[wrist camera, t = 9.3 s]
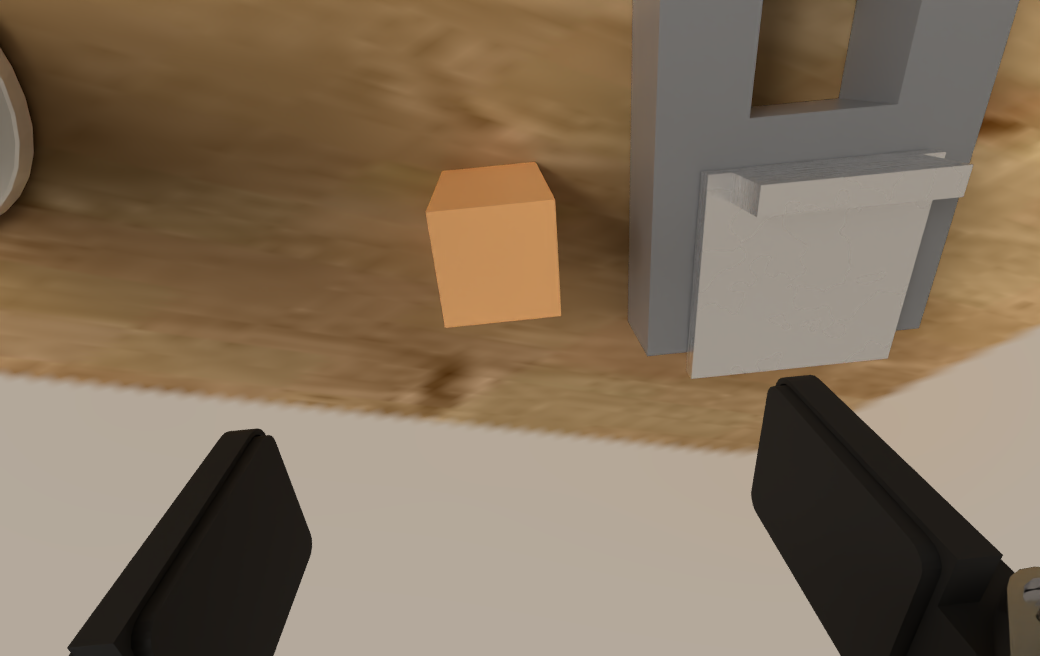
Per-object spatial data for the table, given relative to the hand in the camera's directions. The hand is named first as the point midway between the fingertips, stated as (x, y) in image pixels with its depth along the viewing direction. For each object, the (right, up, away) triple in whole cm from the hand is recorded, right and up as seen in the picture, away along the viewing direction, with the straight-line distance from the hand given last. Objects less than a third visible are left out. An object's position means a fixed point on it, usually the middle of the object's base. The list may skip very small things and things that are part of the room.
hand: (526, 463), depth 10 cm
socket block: (+12, +13, +15) cm, 23 cm away
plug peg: (-1, +9, +16) cm, 19 cm away
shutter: (+13, +5, +14) cm, 20 cm away
